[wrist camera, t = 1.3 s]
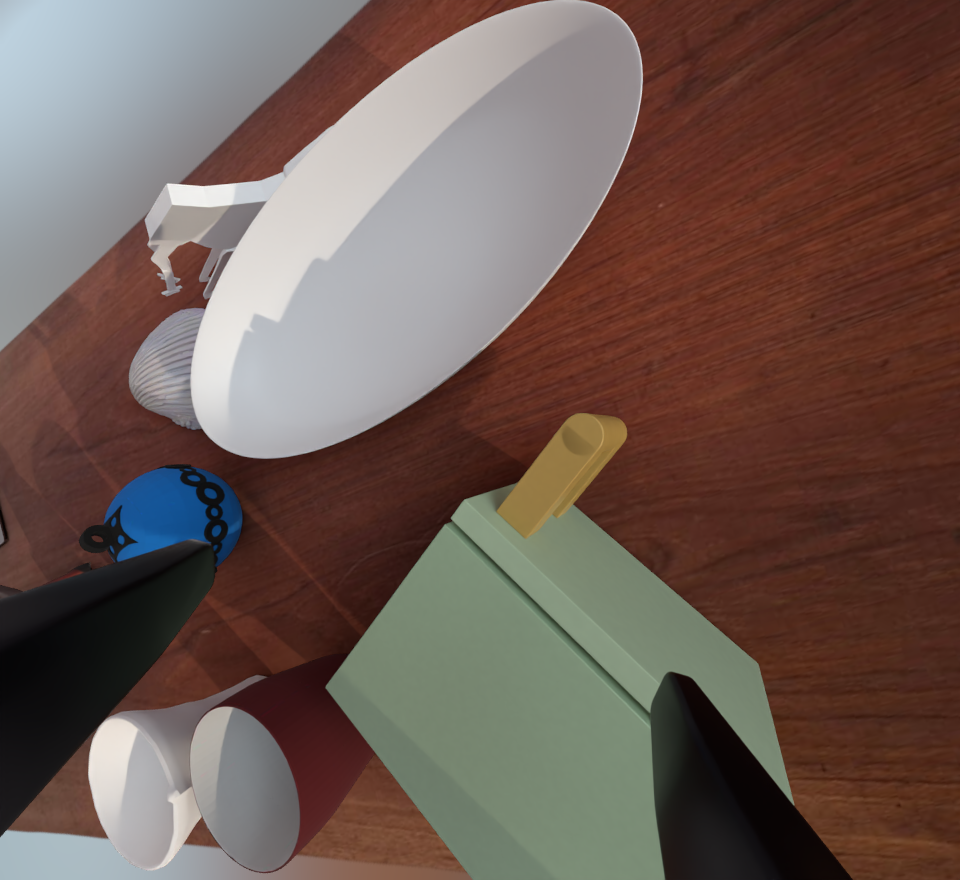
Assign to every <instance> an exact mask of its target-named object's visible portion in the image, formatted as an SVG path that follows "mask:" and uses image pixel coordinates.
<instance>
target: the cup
mask: <svg viewBox="0 0 960 880" xmlns="http://www.w3.org/2000/svg"><path fill="white" fill-rule="evenodd" d="M264 678H267V677H266V676H261V675H255V676H253V677H250V678H248V679H246V680H244V681H242V682H241V683H239V684H237V685H235V686H233V687H231V688H229V689H227V690H225V691H222V692H220V693H218V694H215V695H213V696H210V697H208V698H206V699H203V700H199V701H194V702H187V703H184V704H181V705H177V706H174V707H170V708H166V709H156V710H137V711H125V712H120V713H117V714H115V715H113V716H111V717H109V718H107V719H106V720H105V721H104V722H103V723H102V724H101V725H100V726H99V728H98V730H97V732H96V734H95V736H94V738H93V740H92V744H91V749H90V753H89V768H88V778H89V782H90V787H91V791H92V796H93V800H94V805H95V809H96V811H97V814H98V817H99V820H100V822H101V825H102V826H103V828H104V830H105V832H106V834H107V836H108V838H109V840H110V841H111V843H112V844H113V846H114V847H115V849H116V850H117V852H119V853H120V854H121V855H122V856H123V857H124V858H125V859H126V860H127V861H128V862H129V863H131V864H132V865H134V866H136V867H139V868H141V869H144V870H156V869H158V868H161V867H164V866H166V865H167V864H168V863H169V862H170V861H171V860H172V859H173V857H174V856H175V855H176V853H177V852H178V851H179V850H180V848H181V846H182V845H183V843H184V842H185V840H186V839H187V837H188V836H189V834H190V833H191V831H192V829H193V828H194V826H195V825H196V823H197V822H198V821H199V819H200V818H201V817H202V816H201V813H200V811H199V808H198V806H197V803H196V800H195V796H194V792H193V788H192V783H191V777H190V767H189V754H190V745H191V740H192V736H193V733H194V730H195V727H196V725H197V723H198V722H199V720H200V719H201V717H202V716H203V715H204V714H205V713H206V712H207V711H208V710H210V709H211V708H213V707H214V706H216V705H217V704H219V703H221V702H222V701H224V700H225V699H227V698H229V697H230V696H232V695H234V694H235V693H237V692H239V691H240V690H242V689H244V688H246V687H247V686H249V685H251V684H253V683H255V682H257V681H259V680H262V679H264Z"/></svg>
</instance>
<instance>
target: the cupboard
mask: <svg viewBox="0 0 960 880" xmlns="http://www.w3.org/2000/svg"><path fill="white" fill-rule="evenodd" d="M326 689H327V690H328V692H329V693H330V694H331V696H332V697H333V698H334V700H335V701H336V702H337V703H338V705H339V706H340V707H341V709H342V710H343V711H344V713H345V714H346V715H347V716H348V718H349V719H350V720H351V722H352V723H353V724H354V726H355V727H356V728H357V729H358V731H359V732H360V733H361V735H362V736H363V737H364V739H365V740H366V741H367V743H368V744H369V745H370V746H371V748H372V749H373V750H374V752H375V753H376V754H377V756H378V757H379V758H380V759H381V761H382V762H383V763H384V765H385V766H386V767H387V769H388V770H389V771H390V772H391V774H392V775H393V776H394V778H395V779H396V780H397V782H398V783H399V784H400V786H401V787H402V788H403V789H404V791H405V792H406V793H407V795H408V796H409V797H410V799H411V800H412V801H413V802H414V804H415V805H416V806H417V808H418V809H419V810H420V812H421V813H422V814H423V815H424V817H425V818H426V819H427V821H428V822H429V823H430V825H431V826H432V827H433V829H434V830H435V831H436V832H437V834H438V835H439V836H440V838H441V839H442V840H443V842H444V843H445V844H446V845H447V847H448V848H449V849H450V851H451V852H452V853H453V855H454V856H455V857H456V858H457V860H458V861H459V862H460V864H461V865H462V866H463V868H464V869H465V870H466V872H467V873H468V874H469V875H470V877H471V878H472V879H473V880H665V877H664V870H663V863H662V856H661V849H660V842H659V836H658V829H657V821H656V813H655V804H654V788H653V767H652V745H651V723H650V713H649V712H648V711H647V710H646V709H645V708H644V707H643V706H642V705H641V704H640V703H639V702H638V701H637V700H636V699H635V698H634V697H633V696H632V695H631V694H630V693H629V692H628V691H627V690H626V689H624V688H623V687H622V686H621V685H620V684H619V683H618V682H617V681H616V680H615V679H614V678H613V677H612V676H611V675H610V674H609V673H608V672H607V671H606V670H605V669H604V668H603V667H602V666H601V665H600V664H599V663H598V662H597V661H596V660H595V659H594V658H593V657H592V656H591V655H590V654H589V653H588V652H587V651H586V650H585V649H584V648H583V647H582V646H580V645H579V644H578V643H577V642H576V641H575V640H574V639H573V638H572V637H571V636H570V635H569V634H568V633H567V632H566V631H565V630H564V629H563V628H562V627H561V626H560V625H559V624H558V623H557V622H556V621H555V620H554V619H553V618H552V617H551V616H550V615H549V614H548V613H547V612H546V611H545V610H544V609H543V608H542V607H541V606H540V605H539V604H537V603H536V602H535V601H534V600H533V599H532V598H531V597H530V596H529V595H528V594H527V593H526V592H525V591H524V590H523V589H522V588H521V587H520V586H519V585H518V584H517V583H516V582H515V581H514V580H513V579H512V578H511V577H510V576H509V575H508V574H507V573H506V572H505V571H504V570H503V569H502V568H501V567H500V566H499V565H498V564H497V563H496V562H495V561H493V560H492V559H491V558H490V557H489V556H488V555H487V554H486V553H485V552H484V551H483V550H482V549H481V548H480V547H479V546H478V545H477V544H476V543H475V542H474V541H473V540H472V539H471V538H470V537H469V536H468V535H467V534H466V533H465V532H464V531H463V530H462V529H461V528H460V527H459V526H458V525H457V524H456V523H455V522H454V521H452V522H450V523H447V524H445V525H444V526H443V527H442V529H441V530H440V531H439V533H438V534H437V535H436V537H435V538H434V539H433V541H432V542H431V544H430V545H429V546H428V548H427V549H426V550H425V552H424V553H423V554H422V556H421V557H420V559H419V560H418V561H417V563H416V564H415V565H414V567H413V568H412V569H411V571H410V572H409V574H408V575H407V576H406V578H405V579H404V580H403V582H402V583H401V584H400V586H399V587H398V589H397V590H396V591H395V593H394V594H393V595H392V597H391V598H390V599H389V601H388V602H387V604H386V605H385V606H384V608H383V609H382V610H381V612H380V613H379V614H378V616H377V617H376V619H375V620H374V621H373V623H372V624H371V625H370V627H369V628H368V629H367V631H366V632H365V634H364V635H363V636H362V638H361V639H360V640H359V642H358V643H357V644H356V646H355V647H354V649H353V650H352V651H351V653H350V654H349V655H348V657H347V658H346V659H345V661H344V662H343V664H342V665H341V666H340V668H339V669H338V670H337V672H336V673H335V674H334V676H333V677H332V679H331V680H330V681H329V683H328V684H327V685H326Z"/></svg>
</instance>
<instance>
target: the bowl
mask: <svg viewBox="0 0 960 880" xmlns="http://www.w3.org/2000/svg"><path fill="white" fill-rule="evenodd" d="M642 81H643V74H642V61H641V55H640V51H639V48H638V44H637V42H636V39H635V37H634V35H633V33H632V32H631V30H630V28H629V27H628V26H627V24H626V23H625V22H624V21H623V20H622V19H621V18H620V17H619V16H618V15H616V14H615V13H614V12H612V11H610V10H609V9H607V8H605V7H603V6H600V5H597V4H594V3H590V2H586V1H579V0H553V1H545V2H539V3H534V4H530V5H526V6H522V7H518V8H515V9H512V10H509V11H506V12H503V13H500V14H498V15H495V16H492V17H490V18H488V19H485V20H483V21H481V22H479V23H476V24H474V25H472V26H470V27H468V28H466V29H464V30H462V31H460V32H458V33H456V34H455V35H453V36H451V37H449V38H447V39H446V40H444V41H442V42H441V43H439V44H437V45H436V46H434V47H432V48H431V49H429V50H428V51H426V52H424V53H423V54H421V55H420V56H418V57H417V58H415V59H414V60H412V61H411V62H410V63H408V64H407V65H405V66H404V67H403V68H401V69H400V70H398V71H397V72H396V73H394V74H393V75H392V76H390V77H389V78H388V79H386V80H385V81H384V82H383V83H381V84H380V85H379V86H378V87H376V88H375V89H374V90H373V91H372V92H370V93H369V94H368V95H367V96H366V97H364V98H363V99H362V100H361V101H360V102H359V103H357V104H356V105H355V106H354V107H353V108H352V109H351V110H350V111H349V112H347V113H346V114H345V115H344V116H343V117H342V118H341V119H340V120H339V121H338V122H337V123H336V124H335V125H334V126H333V127H332V128H331V129H330V130H329V131H328V132H327V133H326V134H325V135H324V136H323V137H322V138H321V139H320V140H319V141H318V142H317V143H316V144H315V145H314V146H313V147H312V148H311V149H310V150H309V151H308V152H307V154H306V155H305V156H304V157H303V158H302V159H301V160H300V161H299V163H298V164H297V165H296V166H295V167H294V168H293V169H292V171H291V172H290V173H289V174H288V175H287V177H286V178H285V179H284V180H283V181H282V183H281V184H280V185H279V186H278V188H277V189H276V190H275V192H274V193H273V194H272V195H271V197H270V198H269V199H268V201H267V202H266V203H265V205H264V206H263V207H262V209H261V210H260V212H259V213H258V214H257V216H256V217H255V219H254V220H253V222H252V223H251V225H250V226H249V228H248V229H247V231H246V232H245V234H244V235H243V237H242V239H241V240H240V242H239V243H238V245H237V247H236V248H235V250H234V252H233V254H232V255H231V257H230V259H229V261H228V262H227V264H226V266H225V268H224V270H223V272H222V274H221V276H220V278H219V280H218V282H217V284H216V286H215V288H214V290H213V293H212V295H211V297H210V300H209V302H208V305H207V307H206V310H205V312H204V315H203V318H202V321H201V324H200V327H199V331H198V334H197V338H196V342H195V346H194V351H193V357H192V364H191V375H190V388H191V398H192V404H193V408H194V412H195V415H196V417H197V420H198V422H199V424H200V426H201V427H202V429H203V430H204V432H205V433H206V434H207V436H208V437H209V438H210V439H211V440H212V441H213V442H215V443H216V444H217V445H219V446H220V447H222V448H223V449H225V450H227V451H229V452H232V453H234V454H237V455H241V456H245V457H251V458H263V459H269V458H283V457H290V456H296V455H301V454H305V453H309V452H313V451H316V450H320V449H323V448H326V447H329V446H331V445H334V444H337V443H339V442H342V441H344V440H347V439H349V438H351V437H354V436H356V435H358V434H360V433H362V432H364V431H366V430H368V429H370V428H372V427H374V426H376V425H378V424H380V423H382V422H384V421H385V420H387V419H389V418H391V417H392V416H394V415H396V414H398V413H399V412H401V411H403V410H404V409H406V408H407V407H409V406H411V405H412V404H414V403H415V402H417V401H418V400H420V399H421V398H423V397H424V396H426V395H427V394H429V393H430V392H431V391H433V390H434V389H436V388H437V387H438V386H440V385H441V384H442V383H444V382H445V381H446V380H448V379H449V378H450V377H452V376H453V375H454V374H456V373H457V372H458V371H459V370H461V369H462V368H463V367H464V366H465V365H467V364H468V363H469V362H470V361H471V360H473V359H474V358H475V357H476V356H477V355H478V354H480V353H481V352H482V351H483V350H484V349H485V348H486V347H487V346H489V345H490V344H491V343H492V342H493V341H494V340H495V339H496V338H497V337H498V336H499V335H500V334H501V333H502V332H503V331H504V330H505V329H506V328H507V327H508V326H509V325H510V324H511V323H512V322H513V321H514V320H515V319H516V318H517V317H518V316H519V315H520V314H521V313H522V312H523V311H524V310H525V309H526V307H527V306H528V305H529V304H530V303H531V302H532V301H533V300H534V298H535V297H536V296H537V295H538V294H539V293H540V291H541V290H542V289H543V288H544V287H545V286H546V284H547V283H548V282H549V281H550V279H551V278H552V277H553V276H554V274H555V273H556V272H557V270H558V269H559V268H560V267H561V265H562V264H563V263H564V261H565V260H566V259H567V257H568V256H569V254H570V253H571V252H572V250H573V249H574V247H575V246H576V244H577V243H578V242H579V240H580V239H581V237H582V236H583V234H584V233H585V231H586V229H587V228H588V226H589V225H590V223H591V222H592V220H593V218H594V217H595V215H596V213H597V212H598V210H599V208H600V206H601V205H602V203H603V201H604V199H605V197H606V195H607V194H608V192H609V190H610V188H611V186H612V184H613V182H614V180H615V178H616V176H617V173H618V171H619V169H620V167H621V164H622V162H623V160H624V157H625V155H626V152H627V149H628V147H629V144H630V141H631V138H632V135H633V132H634V128H635V125H636V121H637V117H638V113H639V108H640V102H641V95H642Z"/></svg>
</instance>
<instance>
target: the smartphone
mask: <svg viewBox="0 0 960 880" xmlns="http://www.w3.org/2000/svg"><path fill="white" fill-rule="evenodd" d="M5 542H7V535H6V531H5V527H4V524H3V520H2V516H1V512H0V547H1V546H2V545H3V544H4V543H5Z"/></svg>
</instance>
